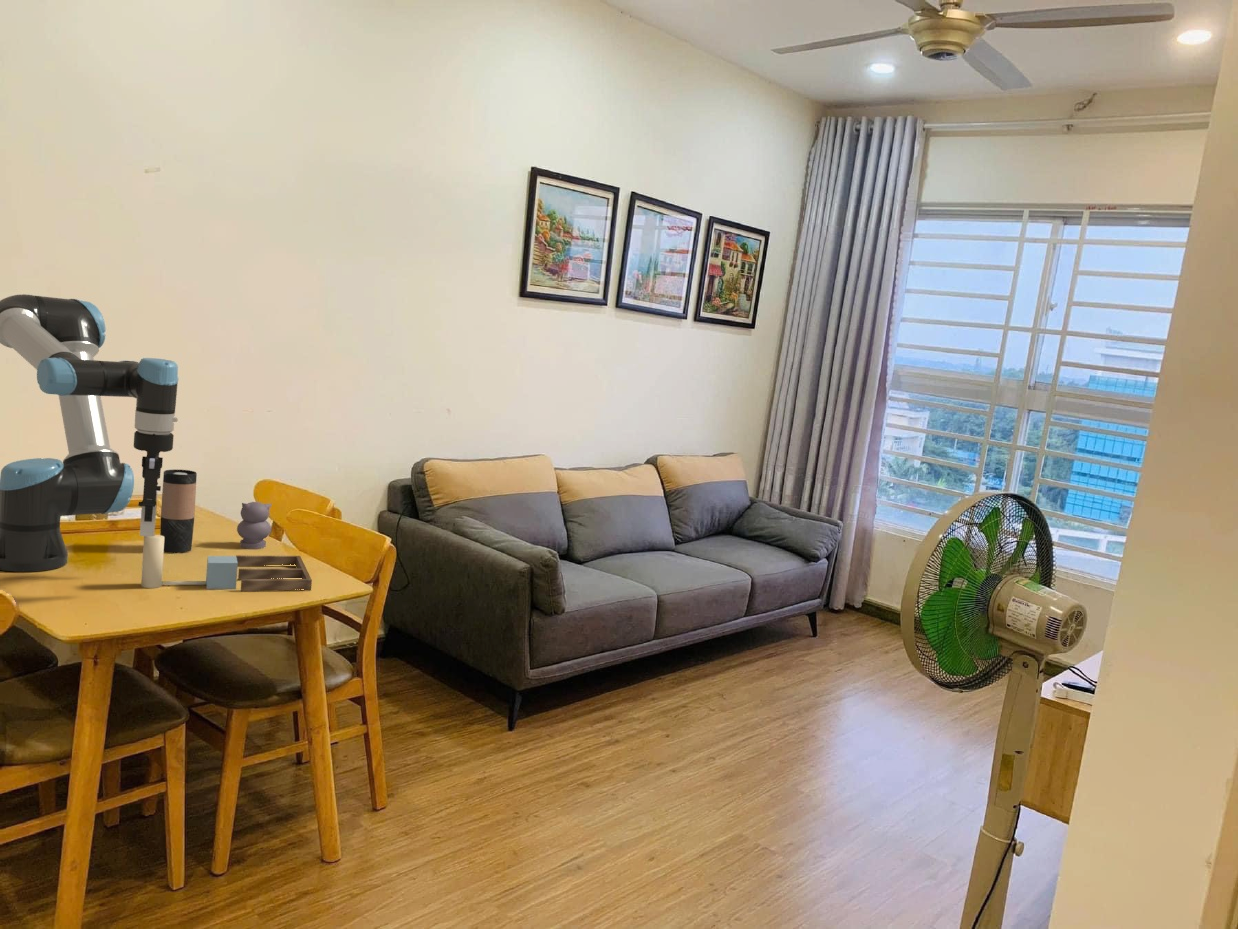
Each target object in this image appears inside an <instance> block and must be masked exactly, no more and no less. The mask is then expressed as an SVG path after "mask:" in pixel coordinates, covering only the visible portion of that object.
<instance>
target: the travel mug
mask: <svg viewBox="0 0 1238 929" xmlns="http://www.w3.org/2000/svg"><path fill="white" fill-rule="evenodd" d="M197 476H198V475H197V472H196V471H193V470H189V469H167V470H164V471H163V478H162V492H161V507H160V508H161V509H160V511H161V512H160V528H159V529H160V532H159V533H160V534H159V535H161V536H164V553H167V554H184V553H189V552H191V551H192V548H193V539H194V538H193V536H194V535H193V534H194V526H195V525H194V524H195V514H196V513H195V512H196V494H197V492H196V491H197Z"/></svg>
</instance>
